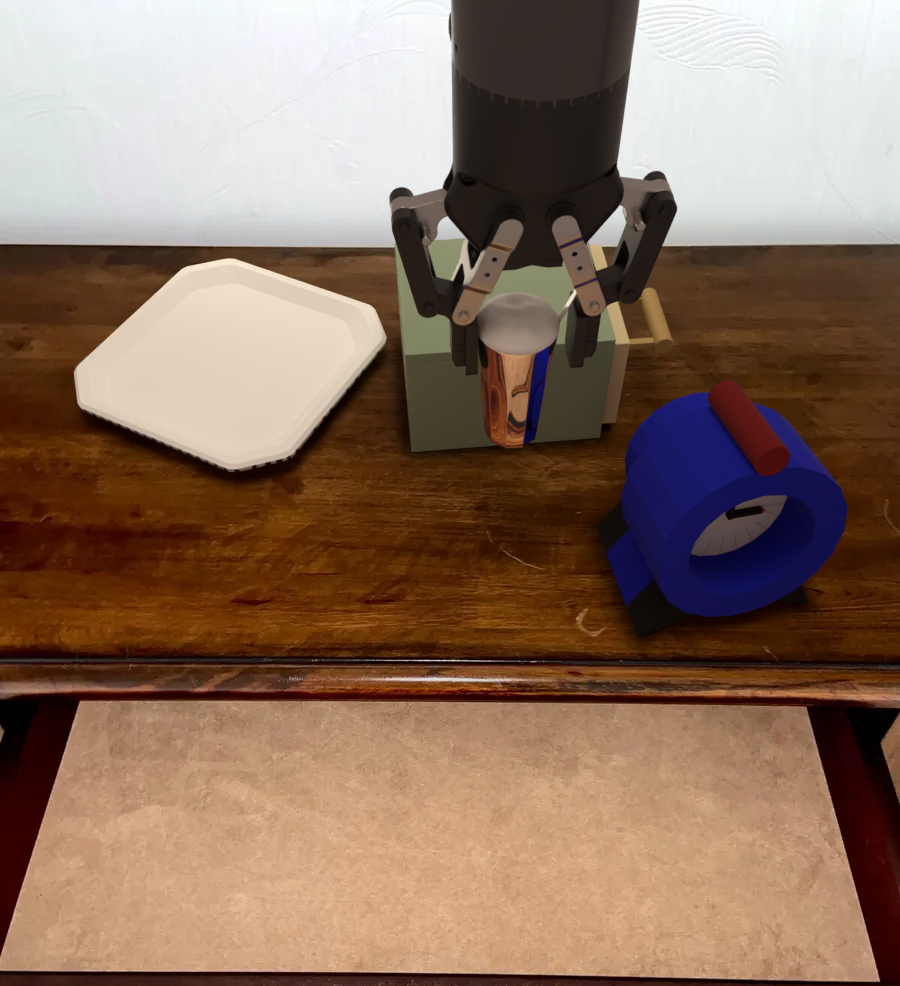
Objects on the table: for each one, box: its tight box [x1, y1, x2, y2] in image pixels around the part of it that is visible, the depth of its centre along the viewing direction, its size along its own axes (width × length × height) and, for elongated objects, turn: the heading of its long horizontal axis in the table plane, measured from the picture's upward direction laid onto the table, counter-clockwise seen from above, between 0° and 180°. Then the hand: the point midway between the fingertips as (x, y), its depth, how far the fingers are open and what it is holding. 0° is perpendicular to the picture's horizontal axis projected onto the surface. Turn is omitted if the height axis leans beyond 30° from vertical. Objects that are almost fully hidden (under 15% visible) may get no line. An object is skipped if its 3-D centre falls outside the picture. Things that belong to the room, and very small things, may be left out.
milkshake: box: [477, 290, 577, 450], centre depth 53 cm, size 4×5×10 cm
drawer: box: [589, 243, 674, 425], centre depth 73 cm, size 18×11×8 cm, turn 95°
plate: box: [73, 258, 388, 473], centre depth 77 cm, size 21×21×2 cm
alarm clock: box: [596, 379, 848, 638], centre depth 60 cm, size 12×12×15 cm
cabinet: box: [394, 237, 616, 453], centre depth 72 cm, size 15×13×10 cm
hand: (522, 360), depth 53 cm, fingers closed on milkshake, 5 cm apart
